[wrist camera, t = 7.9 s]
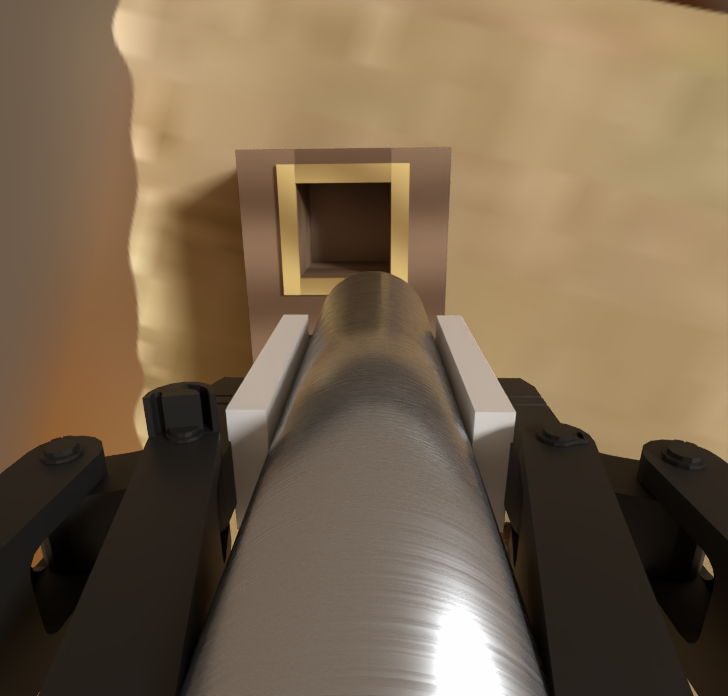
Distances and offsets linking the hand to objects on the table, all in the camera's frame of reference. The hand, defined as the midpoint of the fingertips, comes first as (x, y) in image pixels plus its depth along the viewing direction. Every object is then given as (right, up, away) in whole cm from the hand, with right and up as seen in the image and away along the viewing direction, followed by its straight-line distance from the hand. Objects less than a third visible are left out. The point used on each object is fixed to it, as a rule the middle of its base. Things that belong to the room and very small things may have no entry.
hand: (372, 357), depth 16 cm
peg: (0, +1, +3) cm, 4 cm away
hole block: (-1, +5, +23) cm, 24 cm away
